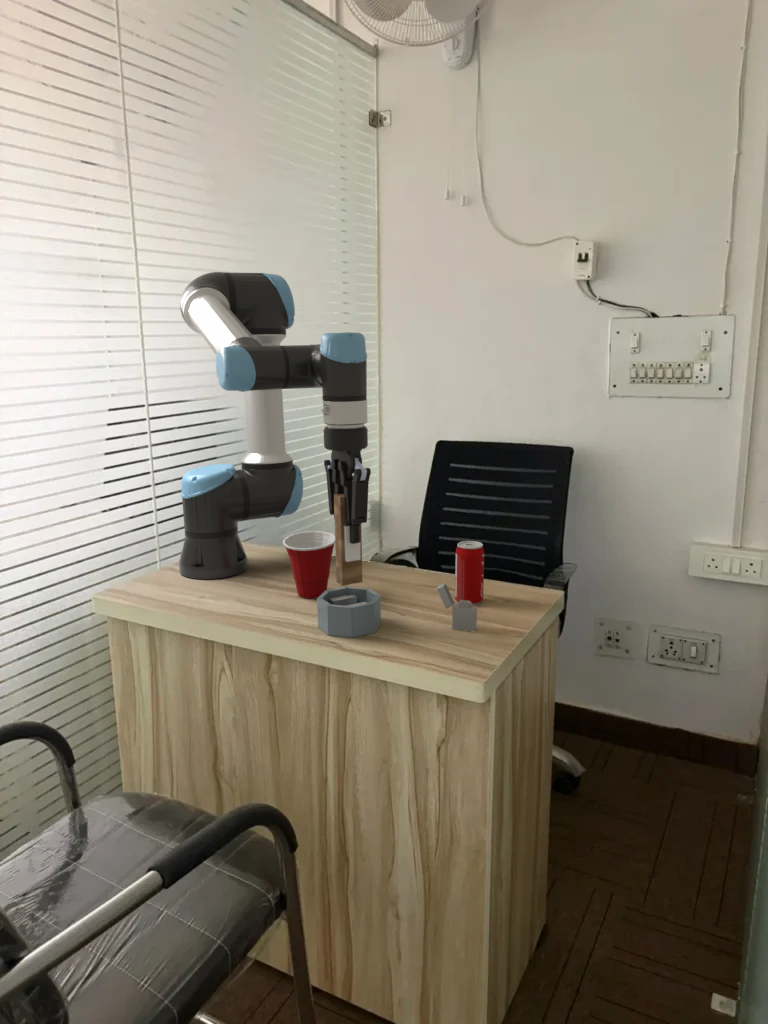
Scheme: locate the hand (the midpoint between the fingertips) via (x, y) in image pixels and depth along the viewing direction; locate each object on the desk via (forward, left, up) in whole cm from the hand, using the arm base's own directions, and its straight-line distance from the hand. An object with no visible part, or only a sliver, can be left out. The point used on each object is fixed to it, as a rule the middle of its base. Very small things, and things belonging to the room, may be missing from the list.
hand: (348, 557), depth 131 cm
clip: (0, 0, -13) cm, 13 cm away
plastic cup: (-19, +1, -13) cm, 23 cm away
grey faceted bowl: (0, 0, -13) cm, 13 cm away
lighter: (+11, +16, -13) cm, 23 cm away
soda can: (+1, +26, -13) cm, 29 cm away
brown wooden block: (0, 0, -5) cm, 5 cm away
